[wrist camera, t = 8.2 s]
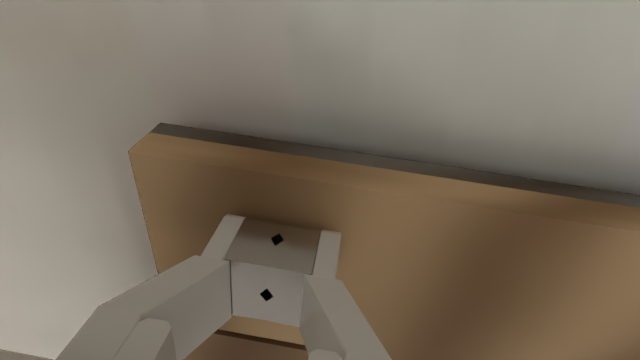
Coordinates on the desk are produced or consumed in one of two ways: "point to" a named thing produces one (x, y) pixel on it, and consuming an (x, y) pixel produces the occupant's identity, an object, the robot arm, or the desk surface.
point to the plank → (415, 243)
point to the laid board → (246, 348)
